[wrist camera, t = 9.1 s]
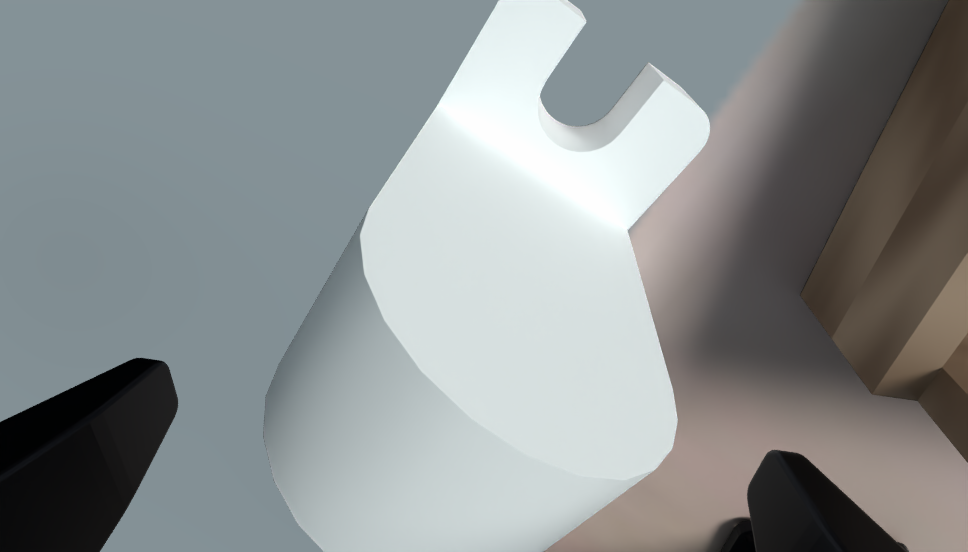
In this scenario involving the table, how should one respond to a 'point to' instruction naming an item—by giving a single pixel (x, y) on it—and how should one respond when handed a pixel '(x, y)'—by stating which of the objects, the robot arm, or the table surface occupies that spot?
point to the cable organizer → (489, 318)
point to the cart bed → (909, 244)
